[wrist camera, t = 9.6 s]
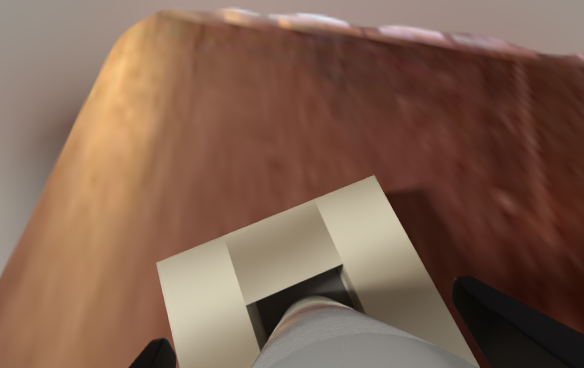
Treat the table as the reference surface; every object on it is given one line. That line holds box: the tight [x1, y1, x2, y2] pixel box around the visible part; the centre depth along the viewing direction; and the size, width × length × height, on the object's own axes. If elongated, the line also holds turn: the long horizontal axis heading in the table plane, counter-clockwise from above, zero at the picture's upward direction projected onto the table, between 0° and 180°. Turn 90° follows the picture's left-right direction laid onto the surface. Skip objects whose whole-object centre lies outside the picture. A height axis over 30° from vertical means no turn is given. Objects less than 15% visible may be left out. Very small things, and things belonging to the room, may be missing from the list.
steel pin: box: [251, 294, 478, 368], centre depth 9 cm, size 4×4×14 cm
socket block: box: [156, 175, 480, 368], centre depth 14 cm, size 12×12×4 cm
